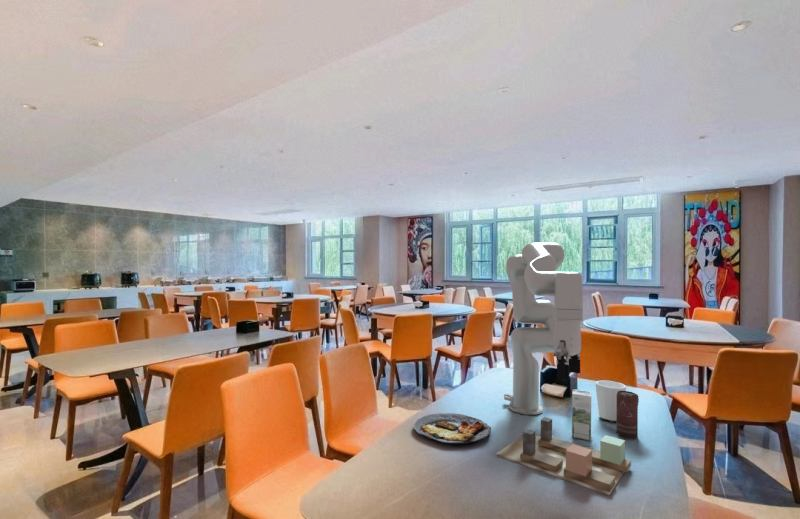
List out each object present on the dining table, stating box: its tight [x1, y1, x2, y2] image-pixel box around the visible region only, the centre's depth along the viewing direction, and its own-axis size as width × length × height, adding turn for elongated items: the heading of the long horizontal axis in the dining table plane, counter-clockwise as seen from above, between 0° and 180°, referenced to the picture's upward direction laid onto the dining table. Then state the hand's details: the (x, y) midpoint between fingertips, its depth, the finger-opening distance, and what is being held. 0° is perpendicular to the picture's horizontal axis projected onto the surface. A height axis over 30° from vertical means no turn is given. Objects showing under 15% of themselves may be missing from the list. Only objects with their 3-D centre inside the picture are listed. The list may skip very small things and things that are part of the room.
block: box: [566, 443, 592, 476], centre depth 105 cm, size 5×5×5 cm
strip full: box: [538, 416, 632, 473], centre depth 116 cm, size 24×5×8 cm, turn 48°
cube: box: [599, 434, 626, 465], centre depth 111 cm, size 5×5×5 cm
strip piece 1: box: [520, 428, 563, 472], centre depth 112 cm, size 10×5×8 cm, turn 49°
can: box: [615, 390, 640, 440], centre depth 132 cm, size 6×6×14 cm
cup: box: [595, 379, 627, 423], centre depth 146 cm, size 10×10×13 cm
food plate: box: [413, 412, 492, 445], centre depth 134 cm, size 25×23×4 cm
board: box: [496, 434, 625, 496], centre depth 115 cm, size 30×20×1 cm, turn 49°
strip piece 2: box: [564, 467, 615, 492], centre depth 103 cm, size 11×5×2 cm, turn 49°
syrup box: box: [571, 388, 592, 441], centre depth 131 cm, size 6×6×14 cm
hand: (568, 375), depth 114 cm, fingers open, 9 cm apart
